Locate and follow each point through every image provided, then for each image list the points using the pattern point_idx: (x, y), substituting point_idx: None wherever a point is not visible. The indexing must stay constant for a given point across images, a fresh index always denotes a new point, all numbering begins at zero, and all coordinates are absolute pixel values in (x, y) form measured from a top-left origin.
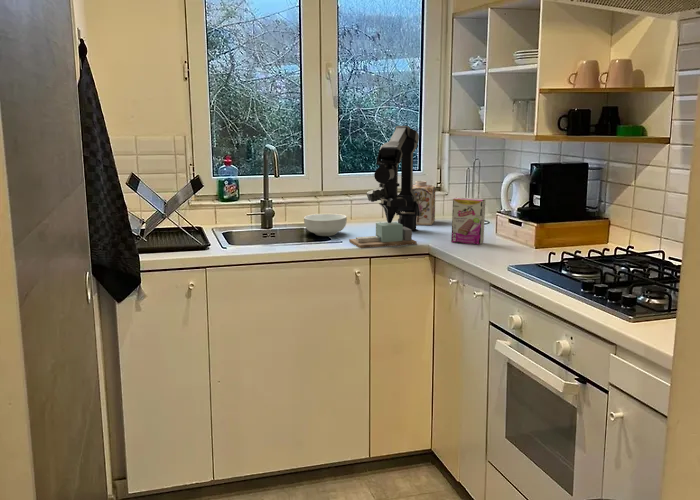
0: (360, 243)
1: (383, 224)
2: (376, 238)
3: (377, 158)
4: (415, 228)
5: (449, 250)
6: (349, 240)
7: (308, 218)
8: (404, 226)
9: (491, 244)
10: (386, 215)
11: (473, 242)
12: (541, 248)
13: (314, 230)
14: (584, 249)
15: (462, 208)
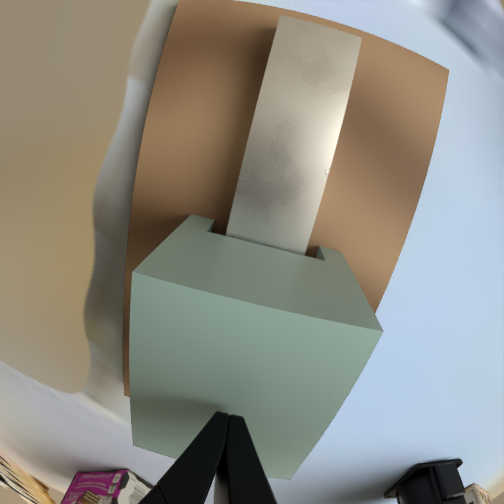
0: (240, 27)
1: (226, 350)
2: (235, 193)
3: None
4: (397, 497)
5: (7, 375)
6: (440, 69)
7: None
8: (425, 483)
9: None
10: (230, 484)
11: (83, 475)
12: (36, 481)
13: None
14: (31, 491)
15: None
